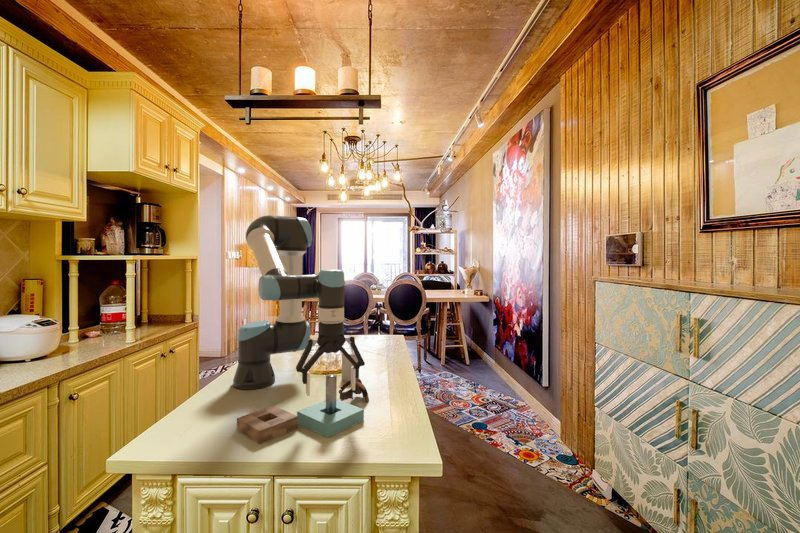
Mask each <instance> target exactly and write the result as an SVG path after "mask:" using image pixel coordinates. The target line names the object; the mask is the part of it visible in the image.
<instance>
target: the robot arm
mask: <svg viewBox="0 0 800 533" xmlns="http://www.w3.org/2000/svg"><path fill="white" fill-rule="evenodd" d="M245 239H246V240H245V241H246V243H247V245H248V247H249V248H250V249H251V250H252V252H253V254H254V257H255V260H256V263H257V266H258V269H259V271H260V275H261V276H260V278H259V279H258V295H259V298H260V299H261V300H262V301H272V302H273V301H274V302H275V301H279V313H278V316H276V318H275V319H274V320H275V323H272V324H271V322H270V321H269V320H256V321H251V322H248V323H245V324H243V325H241V326H239V328H238V332H237V351H238V352H237V359H238V360H237V367H236V369H235V370H236V371H235V373H234V376H233V379H232V386H233V387H234V388H235V389H238V390H250V391H251V390H257V389H259V390H260V389H263V388H267V387H269V386H272V385H273V384H274V383H275V382H276V375H275V371H274V369H273V366H272V363H271V355H277V354H283V353H284V354H286V353H292V352H293V353H295V352H300V351H303V353H302V354H301V356H300V358H299V360H298V363H297V364H296V366H295V370H296V372H297V373H301V374H302V375H301V376H302V379H301V382H302V384H303V385H305V394H306V396H307V397H310V395H311V391H310V390H311V389H310V388H311V386H310V385H311V373H310V370H311V368H312V367H313V366H314V365H315V364H316V362H317V361H318V359H320V357H321V356H322V355H324V353H325V354H331V353H332V354H333V353H334V354H337V353H338V352H339V351H340V352H341V353H342V354H344V356H345V357H346V358H347V359H348V360H349V361H350V362H351V363H352V364H353V366H354V367H351V384H350V389H352V390H355V379H356V378H358V377H359V378H360V367H364V366H365V365H366V364H365V360H364V359H363V357H362V355H361V353H360V351H359V349H358V347H357V345H356V342H355V337H354V336H353V335H352V334H349V336H345V323H344V319H345V285H346V281H345V280H346V279H345V273H344V270H342V269H333V268H331V269H321V270H319V272H318V273H312V274H303V260H304V259H303V258H304V255H305V254H306V253H307V248H309V247H311V246H312V242H313V232H312V227H311V224H310V222H309V220H307V219H306V218H304V217H299V216H286V215H284V216H283V215H282V216H280V215H269V214H268V215H262V216H259V217H258V218H256V219H254V220H253V221H252V222H251V223H250V224H249V225H248V227H247V229H246V232H245ZM305 299H306V300H307V299H318V321H319V322H318V336H317V338H311V326H310V323H309V322H308V321H307V320H306V317H305V316H304V315H303V312H302V311H303V309H302V308H303V300H305ZM345 343H347V344H348V345H349V346H350V347H351V350H352V352H353V354H355V355H356V357H357V359H358V362H355V361H354V359H353V358H352V357H351V356H350V355H349V354H350V353H348V352H347V351H346V349H345V348H344V347H343V346H344V344H345ZM316 344H317V345H318V348H317V349H316V351H314V352H315V353H313V355H311V357H310V358H309V359H308V357H309V356H310V353H311V352H312V348H313V347H315V345H316ZM307 360H308V361H307ZM306 361H307V362H306Z"/></svg>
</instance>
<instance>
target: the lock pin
mask: <svg viewBox="0 0 800 533" xmlns="http://www.w3.org/2000/svg"><path fill="white" fill-rule="evenodd" d="M337 376H338V375H337V374H334V373H333V374H332V373H331V374H327V375H325V401H326V414H328V415H331V414H334V413H336V399H337V395H338V394H337V393H338V392H337V384H338V383H337Z"/></svg>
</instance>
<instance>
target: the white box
mask: <svg viewBox="0 0 800 533" xmlns="http://www.w3.org/2000/svg"><path fill="white" fill-rule="evenodd" d="M348 354H349V355H350V356H351V357H352V358H353V359H354V361H355V362H358V359H357V357H356V355H355V354H354V353H348ZM351 367H354V366H353V364H352V363H351V362H350V361H349V360H348V359H347V358H346V357H345V356H344V354H343V353H342V356H341V381H349V380H351ZM356 379H360V376H359V377H358V378H356Z"/></svg>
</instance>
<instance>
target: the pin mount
mask: <svg viewBox="0 0 800 533" xmlns="http://www.w3.org/2000/svg"><path fill="white" fill-rule="evenodd" d="M298 427H299V424H298V416H297V414H293V413H291V412H289V411H288V410H284V409H283V408H280V407H278V406H276V405H272V406H268V407H266V408H265V407H264V408H263V409H259V410H257V411H254V412H250V413H247V414H245V415H241V416H240V417H236V431H237V432H239V433H240V434H243V436H246V437H248V438H249V439H250V440H252V441H254V442H255V443H257V444H263V443H265V442H266V443H267V442H268V441H270V440H274V439H276V438H278V437H280V436H282V435H285V434H287V433H290V432H292V431H294V430H297V429H298Z"/></svg>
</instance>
